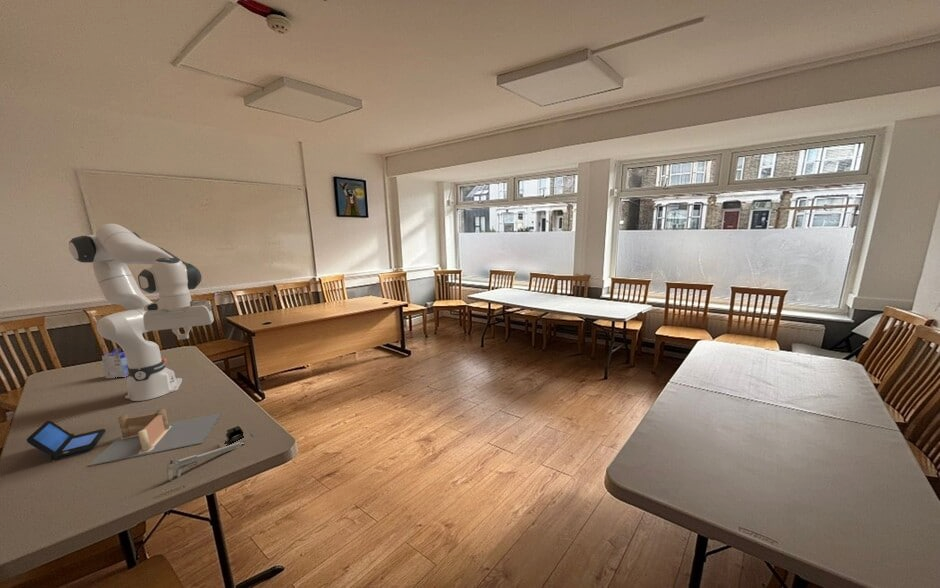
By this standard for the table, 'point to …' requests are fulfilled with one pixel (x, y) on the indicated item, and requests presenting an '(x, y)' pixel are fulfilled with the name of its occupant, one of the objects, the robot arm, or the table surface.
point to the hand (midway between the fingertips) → (183, 339)
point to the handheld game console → (63, 441)
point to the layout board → (160, 440)
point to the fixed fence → (139, 422)
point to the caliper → (195, 460)
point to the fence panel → (151, 432)
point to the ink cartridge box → (115, 364)
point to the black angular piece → (232, 433)
